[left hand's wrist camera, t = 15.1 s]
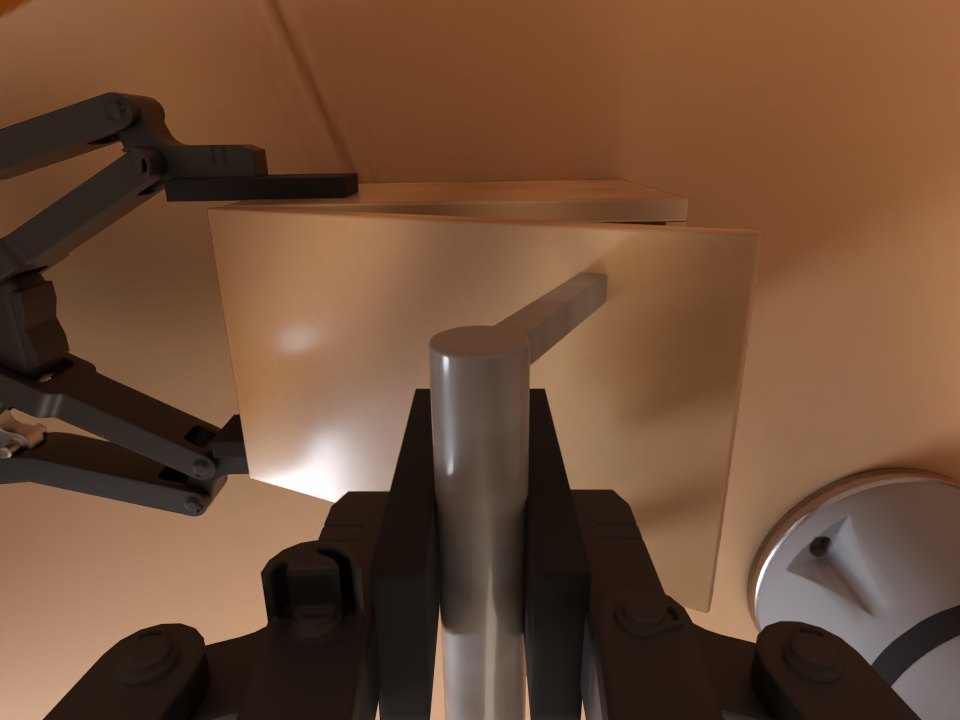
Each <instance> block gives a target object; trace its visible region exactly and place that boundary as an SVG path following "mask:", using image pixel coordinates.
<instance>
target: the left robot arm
mask: <svg viewBox="0 0 960 720" xmlns="http://www.w3.org/2000/svg"><path fill="white" fill-rule="evenodd" d="M261 577H262V584H263V590H264V597H265V604H266V611H267V618H268V624H267V626H266V627H264V628H262V629H260V630H258V631H256V632H254V633H251V634H248V635H245V636H242V637H238V638H234V639H230V640H226V641H222V642H218V643H214V644H210V645H206V646H205V642H204V638H203V637H202V636H201V634H200V633H199V632H198V631H197V630H196V629H195V628H193V627H190V626H187V625H184V624H181V623H179V624H160V625H156V626H152V627H149V628H145V629H142V630H139V631H137V632H135V633H134V634H132V635H130V636H128V637H126V638H124V639H122V640H120V641H119V642H118V643H117V644H115V645H114V646H113V647H112V648H111V649H109V650H108V651H107V652H106V653H105V654H103V655H102V656H101V658H100V659H99V660H98V661H97V662H96V663H95V664H94V665H93V666H92V667H91V668H90V669H89V670H88V672H87V673H86V674H85V675H84V676H83V677H82V678H81V679H80V680H79V681H78V682H77V683H76V684H75V686H74V687H73V688H72V689H71V690H70V691H69V692H68V693H67V694H66V695H65V696H64V697H63V698H62V699H61V701H60V702H59V703H58V704H57V705H56V706H55V707H54V708H53V709H52V710H51V711H50V712H49V713H48V715H47V716H46V717H45V718H44V719H43V720H375V717H376V712H377V706H378V701H379V713H380V720H430V712H431V701H432V689H433V677H434V666H435V654H436V642H437V631H438V619H439V607H440V592H439V570H438V548H437V526H436V504H435V482H434V460H433V438H432V416H431V394H430V389H416V390H415V393H414V397H413V401H412V405H411V409H410V413H409V417H408V421H407V425H406V429H405V433H404V437H403V441H402V445H401V449H400V453H399V457H398V461H397V465H396V469H395V473H394V477H393V480H392V484H391V488H390V491H348V492H347V493H346V494H345V495H344V496H342V497H341V498H340V499H339V500H338V501H337V502H336V503H335V504H334V505H333V506H331V509H330V511H329V514H328V516H327V519H326V521H325V526H324V527H323V529H322V531H321V534H320V536H319V540H316V541H310V542H304V543H299V544H297V545H295V546H292V547H290V548H287V549H285V550H283V551H281V552H280V553H279V554H277V555H276V556H275V557H273V558H272V559H270V560H269V561H268V563H267V564H266V566H265V567H264V569H263V570H262V572H261ZM747 599H748V606H749V610H750V614H751V617H752V620H753V622H754V624H755V626H756V628H757V630H758V632H759V634H758V636H757V641H756V643H753V642H749V641H745V640H740V639H736V638H732V637H728V636H724V635H720V634H717V633H714V632H711V631H708V630H705V629H703V628H702V627H700V626H698V625H696V624H694V623H692V620H691V619H690V617H689V615H688V614H687V612H686V610H685V609H684V607H682V606H681V605H680V604H679V603H678V602H676V601H675V600H674V599H673V598H672V597H670V596H668V595H666V594H665V592H664V589H663V587H662V584H661V582H660V580H659V577H658V575H657V572H656V570H655V567H654V565H653V562H652V560H651V557H650V555H649V552H648V550H647V547H646V545H645V542H644V540H642V535H641V532H640V530H639V527H638V525H636V520H635V517H634V515H633V512H632V510H631V507H630V505H629V504H628V503H627V502H626V501H625V500H624V499H623V498H622V497H620V496H619V495H618V494H617V493H616V492H615V491H614V490H613V489H570V486H569V482H568V478H567V474H566V470H565V466H564V462H563V458H562V454H561V450H560V446H559V442H558V438H557V435H556V431H555V427H554V423H553V419H552V415H551V411H550V407H549V403H548V399H547V395H546V391H545V389H530V400H529V475H528V496H527V512H526V550H525V588H524V627H523V635H524V647H525V659H526V670H527V682H528V694H529V705H530V717H531V720H581V708H582V700H583V705H584V711H585V716H586V720H960V483H958V482H957V481H955V480H953V479H950V478H948V477H946V476H943V475H940V474H937V473H933V472H928V471H924V470H916V469H884V470H877V471H870V472H866V473H861V474H857V475H854V476H851V477H848V478H845V479H842V480H840V481H837V482H835V483H832V484H830V485H828V486H826V487H824V488H822V489H820V490H818V491H817V492H815V493H813V494H812V495H810V496H808V497H807V498H805V499H804V500H803V501H801V502H800V503H798V504H797V505H796V506H795V507H793V508H792V509H791V510H790V511H789V512H788V513H787V514H785V515H784V516H783V517H782V518H781V519H780V520H779V521H778V523H777V524H776V525H775V526H774V527H773V528H772V530H771V531H770V532H769V534H768V535H767V536H766V538H765V539H764V541H763V543H762V544H761V546H760V548H759V549H758V552H757V554H756V556H755V558H754V560H753V563H752V566H751V569H750V574H749V578H748V587H747Z"/></svg>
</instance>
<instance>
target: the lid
mask: <svg viewBox="0 0 960 720" xmlns="http://www.w3.org/2000/svg"><path fill="white" fill-rule="evenodd" d="M207 213H208V219H209V226H210V232H211V238H212V244H213V251H214V257H215V263H216V269H217V275H218V282H219V288H220V294H221V300H222V307H223V313H224V319H225V325H226V332H227V338H228V344H229V350H230V357H231V363H232V369H233V375H234V382H235V388H236V394H237V400H238V406H239V413H240V419H241V425H242V431H243V438H244V444H245V450H246V456H247V463H248V469H249V475H250V478H251V479H254V480H258V481H261V482H265V483H268V484H271V485H275V486H278V487H282V488H285V489H288V490H292V491H295V492H298V493H302V494H305V495H309V496H312V497H315V498H319V499H322V500H326V501H329V502H332V503H336V502H337V501H338V500H339V499H340V498H341V497H342V496H344V495H345V494H346V493H347V492H348V491H390V488H391V484H392V480H393V477H394V473H395V469H396V465H397V461H398V457H399V453H400V449H401V445H402V441H403V437H404V433H405V429H406V425H407V421H408V417H409V413H410V409H411V405H412V401H413V397H414V393H415V390H416V389H430V394H431V416H432V438H433V460H434V482H435V504H436V526H437V548H438V570H439V592H440V614H441V636H442V658H443V680H444V702H445V720H525V703H526V676H527V670H526V659H525V647H524V635H523V627H524V588H525V550H526V512H527V496H528V475H529V400H530V389H545V391H546V395H547V399H548V403H549V407H550V411H551V415H552V419H553V423H554V427H555V431H556V435H557V438H558V442H559V446H560V450H561V454H562V458H563V462H564V466H565V470H566V474H567V478H568V482H569V486H570V489H613V490H614V491H615V492H616V493H617V494H618V495H619V496H620V497H622V498H623V499H624V500H625V501H626V502H627V503H628V504H629V505H630V507H631V510H632V512H633V515H634V517H635V520H636V525H638V527H639V530H640V532H641V535H642V540H644V542H645V545H646V547H647V550H648V552H649V555H650V557H651V560H652V562H653V565H654V567H655V570H656V572H657V575H658V577H659V580H660V582H661V584H662V587H663V589H664V592H665V594H666V595H668V596H670V597H672V598H673V599H674V600H675V601H676V602H678V603H679V604H680V605H681V606H684V607H687V608H691V609H694V610H698V611H701V612H704V613H708V612H709V611H710V606H711V601H712V596H713V590H714V583H715V576H716V568H717V561H718V554H719V547H720V539H721V532H722V525H723V518H724V510H725V503H726V496H727V489H728V481H729V474H730V467H731V460H732V452H733V445H734V438H735V431H736V424H737V416H738V409H739V402H740V395H741V387H742V380H743V373H744V366H745V358H746V351H747V344H748V337H749V329H750V322H751V315H752V308H753V300H754V293H755V286H756V279H757V271H758V264H759V257H760V250H761V243H762V235H763V233H762V231H761V230H754V229H731V228H709V227H686V226H663V225H641V224H618V223H596V222H573V221H551V220H528V219H506V218H483V217H460V216H438V215H415V214H393V213H370V212H348V211H325V210H303V209H280V208H258V207H235V206H225V207H217V208H210V209H208V210H207Z"/></svg>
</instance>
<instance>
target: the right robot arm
mask: <svg viewBox="0 0 960 720" xmlns="http://www.w3.org/2000/svg"><path fill="white" fill-rule="evenodd" d="M164 119H165V113H164V109H163V107H162V106H161V104H160V103H159V102H158V101H156V100H155V99H153V98H150V97H146V96H138V95H130V94H123V93H115V92H112V93H106V94H103V95H100V96H97V97H94V98H91V99H88V100H85V101H82V102H79V103H76V104H73V105H70V106H68V107H65V108H62V109H59V110H56V111H53V112H50V113H47V114H44V115H41V116H38V117H35V118H32V119H29V120H26V121H24V122H21V123H18V124H15V125H12V126H9V127H6V128H3V129H0V180H4V179H8V178H12V177H15V176H18V175H21V174H24V173H27V172H30V171H33V170H36V169H39V168H42V167H45V166H48V165H51V164H54V163H57V162H60V161H63V160H66V159H69V158H72V157H75V156H78V155H81V154H84V153H87V152H90V151H93V150H96V149H99V148H102V147H105V146H108V145H111V144H114V143H117V142H120V141H121V142H122V144H123V146H124V147H125V148H123V149H122V151H123V152H127V153H126V154H125V155H123V156H122V157H120V158H119V159H117V160H116V161H115V162H113V163H112V164H110V165H109V166H107V167H106V168H104V169H103V170H101V171H100V172H99V173H97V174H96V175H94V176H93V177H91V178H90V179H88V180H87V181H86V182H84V183H83V184H81V185H80V186H78V187H77V188H75V189H74V190H73V191H71V192H70V193H68V194H67V195H65V196H64V197H62V198H61V199H59V200H58V201H57V202H55V203H54V204H52V205H51V206H49V207H48V208H46V209H45V210H44V211H42V212H41V213H39V214H38V215H36V216H35V217H33V218H32V219H31V220H29V221H28V222H26V223H25V224H23V225H22V226H20V227H19V228H17V229H16V230H15V231H13V232H12V233H10V234H9V235H7V236H5V237H3V238H1V239H0V484H8V483H20V482H34V483H39V484H43V485H48V486H53V487H58V488H62V489H67V490H72V491H76V492H81V493H86V494H91V495H95V496H100V497H105V498H109V499H114V500H119V501H124V502H128V503H133V504H138V505H142V506H147V507H152V508H156V509H161V510H166V511H171V512H175V513H180V514H185V515H189V516H199V515H202V514H203V513H204V512H205V511H206V510H207V508H208V507H209V506H210V504H211V503H212V501H213V500H214V499H215V497H216V496H217V494H218V493H219V492H220V490H221V489H222V487H223V486H224V485H225V483H226V481H227V474H249V469H248V463H247V456H246V450H245V444H244V438H243V431H242V425H241V419H240V415H234V416H233V417H232V418H231V419H230V420H229V421H228V422H227V424H226V425H225V426H224V427H223V428H222V429H221V428H218V427H216V426H214V425H212V424H210V423H207V422H205V421H203V420H201V419H198V418H196V417H194V416H192V415H190V414H187V413H185V412H183V411H181V410H179V409H176V408H174V407H172V406H170V405H167V404H165V403H163V402H161V401H159V400H156V399H154V398H152V397H150V396H148V395H145V394H143V393H141V392H139V391H136V390H134V389H132V388H130V387H128V386H125V385H123V384H121V383H119V382H117V381H114V380H112V379H110V378H108V377H105V376H103V375H101V374H99V373H97V371H96V367H95V366H94V365H93V364H91V363H90V362H87V361H85V360H83V359H81V358H79V357H76V356H74V355H72V354H70V353H68V351H70V350H69V346H68V342H67V338H66V334H65V332H64V330H63V328H62V327H61V325H60V323H59V321H58V319H57V317H56V299H57V298H56V294H55V290H54V286H53V282H52V281H45V279H44V278H43V276H42V275H41V274H42V273H43V272H45V271H46V270H48V269H49V268H51V267H52V266H54V265H55V264H57V263H58V262H60V261H61V260H63V259H64V258H66V257H67V256H68V255H69V254H68V253H69V252H71V251H72V250H74V249H75V248H77V247H78V246H79V245H81V244H82V243H84V242H85V241H87V240H88V239H90V238H91V237H93V236H94V235H96V234H97V233H99V232H100V231H102V230H103V229H105V228H106V227H108V226H109V225H111V224H112V223H114V222H115V221H117V220H118V219H120V218H121V217H123V216H124V215H126V214H127V213H129V212H130V211H132V210H133V209H135V208H136V207H138V206H139V205H141V204H142V203H144V202H145V201H147V200H148V199H150V198H151V197H153V196H154V195H156V194H157V193H159V192H160V191H162V190H163V189H165V191H166V197H167V202H173V201H233V200H257V199H319V198H347V197H349V196H351V195H353V194H356V193H358V192H359V190H358V177H357V173H347V174H286V175H268V169H267V161H266V153H265V150H264V149H262V148H259V147H256V146H254V145H194V146H191V145H185V144H182V143H180V142H178V141H177V140H176V139H175V138H174V137H173V136H172V135H171V133H170V132H169V130H168V128H167V126H166V124H165V122H164ZM50 377H51V379H49V380H48V381H46V380H47V379H48V378H50ZM13 408H15V409H17V410H19V411H22V412H24V413H26V414H29V415H31V416H34V417H38V418H48V417H54V418H58V419H60V420H63V421H65V422H67V423H69V424H72V425H74V426H76V427H79V428H81V429H83V430H86V431H88V432H90V433H92V434H95V435H97V436H99V437H102V438H104V439H106V440H109V441H111V442H108V441H103V440H99V439H94V438H90V437H85V436H81V435H76V434H70V433H61V432H47V429H46V427H45V426H44V425H43V424H35V425H34V426H33V425H29V424H23V423H20V422H18V421H17V420H15V419H14V418H13V417H12V415H11V413H10V410H11V409H13ZM112 442H113V443H112Z"/></svg>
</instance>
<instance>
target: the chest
mask: <svg viewBox="0 0 960 720" xmlns="http://www.w3.org/2000/svg"><path fill="white" fill-rule="evenodd" d="M358 190H359V192H358V193H356V194H353V195H351V196H349V197H347V198H319V199H257V200H245V201H241V202H238V203H234V204H230V205H227V206H235V207H258V208H280V209H303V210H325V211H348V212H370V213H393V214H415V215H438V216H460V217H483V218H506V219H528V220H551V221H573V222H596V223H618V224H641V225H663V226H686V227H687V222H686V220H687V216H688V206H689V199H687V198H684V197H681V196H677V195H674V194H670V193H667V192H663V191H660V190H656V189H653V188H649V187H646V186H642V185H639V184H635V183H631V182H628V181H624V180H621V179H600V180H537V181H474V182H410V183H358Z"/></svg>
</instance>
